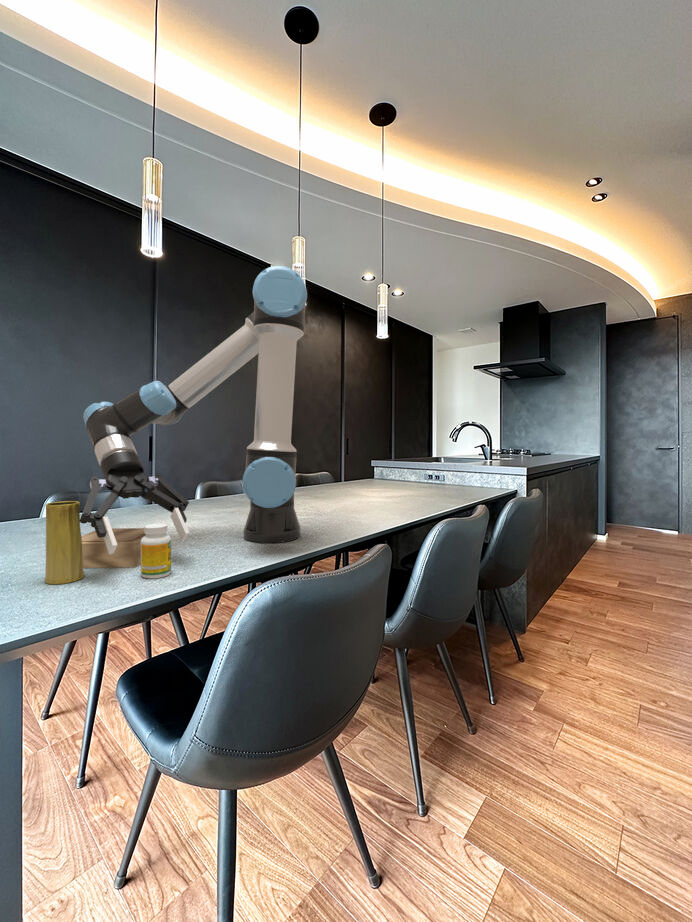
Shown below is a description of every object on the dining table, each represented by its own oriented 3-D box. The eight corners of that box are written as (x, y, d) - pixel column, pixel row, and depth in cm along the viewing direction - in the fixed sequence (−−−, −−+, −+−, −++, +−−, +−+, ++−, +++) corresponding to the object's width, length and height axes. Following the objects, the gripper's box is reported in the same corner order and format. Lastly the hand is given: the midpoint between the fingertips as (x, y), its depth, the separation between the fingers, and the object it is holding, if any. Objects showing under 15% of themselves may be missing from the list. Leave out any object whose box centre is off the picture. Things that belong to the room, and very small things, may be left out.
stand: (160, 549, 99) (160, 527, 98) (135, 567, 85) (135, 541, 84) (99, 550, 98) (99, 527, 97) (63, 568, 84) (62, 542, 83)
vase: (55, 587, 73) (53, 506, 72) (37, 581, 76) (35, 503, 75) (91, 577, 78) (89, 502, 78) (73, 572, 81) (71, 499, 81)
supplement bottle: (139, 573, 81) (138, 524, 81) (169, 568, 84) (168, 521, 83) (142, 581, 77) (141, 529, 76) (173, 576, 79) (173, 526, 79)
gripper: (170, 470, 100) (203, 542, 91) (46, 476, 81) (72, 568, 72) (181, 448, 96) (217, 522, 87) (53, 449, 78) (81, 543, 68)
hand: (151, 543), depth 80 cm, fingers open, 13 cm apart
